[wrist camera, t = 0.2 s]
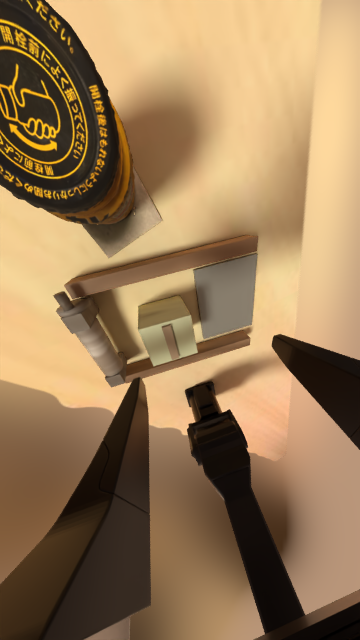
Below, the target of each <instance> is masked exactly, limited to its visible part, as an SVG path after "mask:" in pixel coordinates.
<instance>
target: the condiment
mask: <svg viewBox="0 0 360 640" xmlns="http://www.w3.org/2000/svg"><path fill="white" fill-rule="evenodd" d="M0 185H1V186H3V187H4V188H6V189H7V190H9V191H10V192H12V194H13V196H15V197H16V198H18V199H22V200H25V201H27V202H28V203H30V204H31V205H33V206H35V207H37V208H43V209H44V210H46V211H47V212H49V213H51V214H53V215H55V216H57V217H59V218H61V219H64V220H66V221H70V222H74V223H79V224H82V225H83V227H84V228H85V229H86V230H87V232H88V233H89V234H90V235H91V237H92V238H93V239H94V240H95V241H96V243H97V244H98V245H99V246H100V248H101V249H102V250H103V251H104V253H105V254H106V255H107V256H108V258H110V257H111V256H113V255H114V254H116V253H117V252H118V251H120V250H121V249H123V248H124V247H125V246H127V245H128V244H130V243H131V242H133V241H134V240H136V239H137V238H138V237H139V236H141V235H143V234H144V233H145V232H147V231H148V230H150V229H151V228H153V227H154V226H156V225H157V224H158V223H160V222H161V221H162V219H161V217H160V215H159V213H158V212H157V210H156V208H155V206H154V204H153V202H152V200H151V198H150V197H149V195H148V193H147V191H146V189H145V187H144V185H143V183H142V182H141V180H140V178H139V176H138V174H137V172H136V171H135V169H134V167H133V159H132V155H131V153H130V148H129V144H128V141H127V136H126V133H125V130H124V127H123V124H122V121H121V120H120V118H119V116H118V113H117V111H116V109H115V107H114V106H113V104H112V102H111V100H110V98H109V96H108V90H107V88H106V87H105V86H104V83H103V81H102V78H101V76H100V75H99V73H98V72H97V70H96V67H95V64H94V62H93V60H92V59H91V57H90V55H89V53H88V51H87V50H86V49H85V48H84V46H83V44H82V42H81V41H80V39H79V38H78V36H77V35H76V33H75V32H74V30H73V29H72V27H71V26H70V25H69V23H68V22H67V21H66V20H65V19H63V18H62V17H61V16H60V15H59V14H58V13H57V12H56V11H55V10H54V9H53V8H52V7H51V6H50V5H49V4H48V3H47V2H46V1H45V0H0ZM134 207H135V210H134V209H133V208H134ZM134 212H135V215H134ZM97 224H98V225H97Z"/></svg>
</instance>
